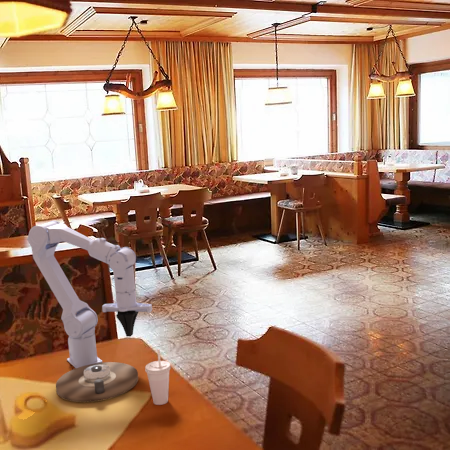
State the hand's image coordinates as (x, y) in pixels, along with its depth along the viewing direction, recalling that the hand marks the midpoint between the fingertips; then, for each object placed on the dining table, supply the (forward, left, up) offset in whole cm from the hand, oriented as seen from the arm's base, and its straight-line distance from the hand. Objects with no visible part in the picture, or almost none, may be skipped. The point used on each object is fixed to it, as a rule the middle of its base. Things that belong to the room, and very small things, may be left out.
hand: (129, 335), depth 172 cm
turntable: (+6, -13, -9) cm, 17 cm away
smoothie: (+26, -4, -10) cm, 28 cm away
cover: (+6, -13, -7) cm, 16 cm away
